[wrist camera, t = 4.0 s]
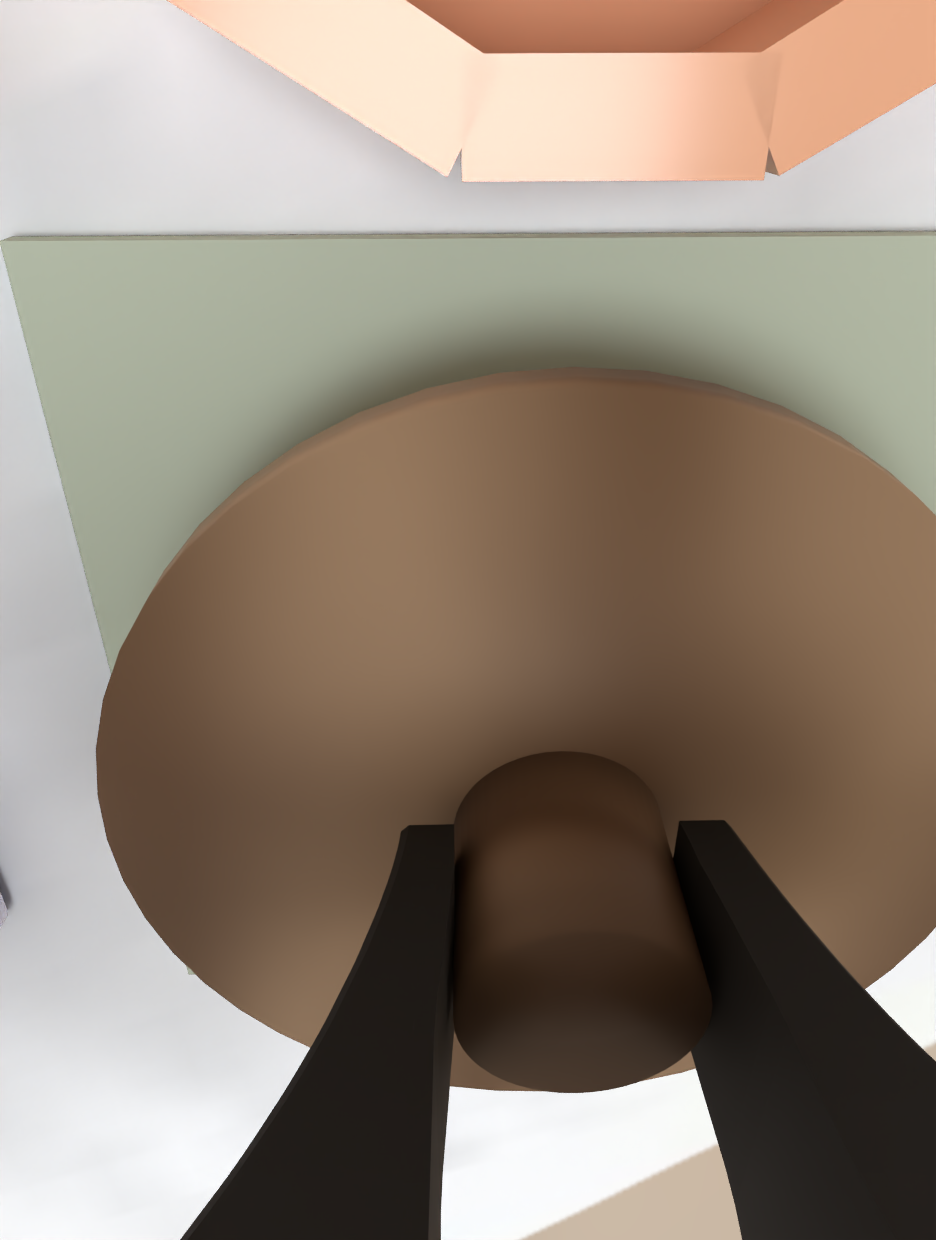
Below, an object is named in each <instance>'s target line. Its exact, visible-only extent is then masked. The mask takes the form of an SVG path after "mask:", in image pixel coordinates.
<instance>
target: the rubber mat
mask: <svg viewBox="0 0 936 1240" xmlns="http://www.w3.org/2000/svg"><path fill="white" fill-rule="evenodd" d="M0 245H1V249H2V253H3V257H4V261H5V264H6V268H7V272H8V276H9V280H10V284H11V288H12V292H13V295H14V299H15V303H16V307H17V311H18V315H19V319H20V323H21V326H22V330H23V334H24V338H25V342H26V346H27V350H28V354H29V357H30V361H31V365H32V369H33V373H34V377H35V381H36V385H37V388H38V392H39V396H40V400H41V404H42V408H43V412H44V416H45V420H46V423H47V427H48V431H49V435H50V439H51V443H52V447H53V451H54V454H55V458H56V462H57V466H58V470H59V474H60V478H61V482H62V485H63V489H64V493H65V497H66V501H67V505H68V509H69V513H70V516H71V520H72V524H73V528H74V532H75V536H76V540H77V544H78V547H79V551H80V555H81V559H82V563H83V567H84V571H85V575H86V578H87V582H88V586H89V590H90V594H91V598H92V602H93V606H94V609H95V613H96V617H97V621H98V625H99V629H100V633H101V637H102V640H103V644H104V648H105V652H106V656H107V660H108V664H109V668H110V671H111V674H112V671H113V668H114V665H115V662H116V659H117V656H118V653H119V650H120V648H121V647H122V645H123V643H124V641H125V639H126V637H127V635H128V633H129V632H130V630H131V628H132V626H133V624H134V622H135V620H136V619H137V617H138V615H139V613H140V611H141V609H142V607H143V606H144V604H145V602H146V600H147V598H148V597H149V595H150V593H151V592H152V590H153V588H154V587H155V585H156V583H157V581H158V580H159V578H160V576H161V575H162V573H163V571H164V570H165V568H166V567H167V566H168V564H169V563H170V562H171V561H172V559H173V558H174V557H175V555H176V554H177V553H178V551H179V550H180V549H181V548H182V546H183V545H184V544H185V542H186V541H187V540H188V538H189V537H190V536H191V535H192V533H193V532H194V531H195V529H196V528H197V527H198V525H199V524H200V523H201V522H202V521H203V520H204V519H205V518H207V517H208V516H209V515H210V514H211V513H212V512H213V511H214V510H215V509H216V508H217V507H218V506H219V505H220V504H221V503H222V502H223V501H224V500H225V499H226V498H228V497H229V496H230V495H231V494H232V493H233V492H234V491H235V490H236V489H237V488H238V487H239V486H240V485H241V484H242V483H243V482H244V481H246V480H247V479H249V478H250V477H252V476H253V475H254V474H256V473H257V472H259V471H260V470H261V469H263V468H264V467H266V466H267V465H269V464H270V463H271V462H273V461H274V460H276V459H277V458H278V457H280V456H281V455H283V454H284V453H286V452H287V451H288V450H290V449H291V448H293V447H294V446H295V445H297V444H298V443H300V442H302V441H304V440H306V439H308V438H310V437H312V436H314V435H316V434H318V433H320V432H322V431H324V430H326V429H328V428H330V427H331V426H333V425H335V424H337V423H339V422H341V421H343V420H345V419H347V418H349V417H351V416H353V415H355V414H357V413H359V412H361V411H364V410H367V409H370V408H373V407H375V406H378V405H381V404H384V403H387V402H389V401H392V400H395V399H398V398H401V397H403V396H406V395H409V394H412V393H415V392H418V391H420V390H423V389H426V388H430V387H435V386H439V385H444V384H449V383H454V382H458V381H463V380H468V379H472V378H477V377H482V376H486V375H491V374H496V373H503V372H515V371H528V370H540V369H553V368H565V367H586V368H605V369H625V370H644V371H651V372H657V373H662V374H667V375H673V376H678V377H683V378H689V379H694V380H699V381H704V382H710V383H715V384H719V385H722V386H725V387H728V388H731V389H734V390H737V391H740V392H743V393H746V394H748V395H751V396H754V397H757V398H760V399H763V400H766V401H769V402H772V403H775V404H778V405H781V406H783V407H785V408H787V409H789V410H791V411H793V412H795V413H797V414H799V415H801V416H803V417H805V418H807V419H809V420H811V421H813V422H815V423H816V424H818V425H820V426H822V427H824V428H826V429H828V430H830V431H832V432H834V433H836V434H838V435H840V436H841V437H843V438H844V439H845V440H847V441H848V442H850V443H851V444H852V445H854V446H855V447H856V448H858V449H859V450H860V451H862V452H863V453H865V454H866V455H867V456H869V457H870V458H871V459H873V460H874V461H876V462H877V463H878V464H880V465H881V466H882V467H884V468H885V469H886V470H888V471H889V472H890V473H891V474H893V475H894V476H895V477H896V478H897V479H898V480H899V481H900V482H901V483H903V484H904V485H905V486H906V487H907V488H908V489H909V490H910V491H912V492H913V493H914V494H915V495H916V496H917V497H918V498H919V499H920V500H921V501H922V502H923V503H924V504H925V505H926V506H927V507H928V508H929V509H930V510H931V511H932V512H933V513H934V514H935V515H936V231H885V232H713V233H541V234H369V235H197V236H26V237H10V238H7V239H4V240H1V241H0ZM187 970H188V974H189V975H192V974H195V973H194V972H193V971H192V970H191V969H189V968H188V967H187Z"/></svg>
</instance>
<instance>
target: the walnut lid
mask: <svg viewBox="0 0 936 1240" xmlns="http://www.w3.org/2000/svg"><path fill="white" fill-rule="evenodd" d="M96 762H97V789H98V799H99V804H100V808H101V813H102V818H103V822H104V827H105V832H106V836H107V840H108V843H109V845H110V848H111V851H112V853H113V856H114V858H115V861H116V863H117V866H118V868H119V871H120V873H121V876H122V878H123V881H124V883H125V884H126V886H127V888H128V889H129V891H130V893H131V894H132V896H133V898H134V899H135V901H136V903H137V905H138V906H139V908H140V910H141V911H142V913H143V915H144V916H145V918H146V920H147V921H148V922H149V923H150V925H151V926H152V927H153V928H154V930H155V931H156V932H157V933H158V935H159V936H160V937H161V938H162V940H163V941H164V942H165V943H166V945H167V946H168V947H169V948H170V950H171V951H172V952H173V953H174V954H175V955H176V956H177V957H178V958H179V959H180V960H181V961H182V962H183V963H184V964H185V965H186V966H187V967H188V968H189V969H191V970H192V971H193V972H194V973H195V974H196V975H197V976H198V977H199V978H200V979H201V980H202V981H203V982H204V983H205V984H207V985H208V986H209V987H211V988H212V989H213V990H215V991H216V992H217V993H218V994H220V995H221V996H222V997H224V998H225V999H226V1000H228V1001H229V1002H230V1003H232V1004H233V1005H234V1006H236V1007H237V1008H238V1009H240V1010H241V1011H243V1012H245V1013H246V1014H248V1015H250V1016H251V1017H253V1018H255V1019H256V1020H258V1021H260V1022H261V1023H263V1024H265V1025H266V1026H268V1027H270V1028H272V1029H273V1030H275V1031H277V1032H278V1033H280V1034H283V1035H285V1036H287V1037H289V1038H291V1039H293V1040H295V1041H298V1042H300V1043H302V1044H304V1045H306V1046H308V1047H310V1048H311V1046H312V1044H313V1042H314V1041H315V1039H316V1037H317V1035H318V1033H319V1032H320V1030H321V1028H322V1026H323V1024H324V1022H325V1021H326V1019H327V1017H328V1015H329V1013H330V1011H331V1009H332V1007H333V1005H334V1003H335V1001H336V999H337V997H338V995H339V993H340V991H341V989H342V987H343V985H344V983H345V981H346V979H347V977H348V975H349V973H350V971H351V969H352V967H353V965H354V963H355V961H356V958H357V956H358V954H359V952H360V949H361V947H362V945H363V942H364V940H365V938H366V935H367V933H368V931H369V928H370V926H371V923H372V921H373V919H374V916H375V914H376V912H377V909H378V907H379V904H380V901H381V898H382V896H383V893H384V890H385V888H386V885H387V882H388V879H389V876H390V873H391V870H392V867H393V863H394V860H395V856H396V852H397V848H398V844H399V839H400V833H401V831H402V830H403V829H405V828H406V827H407V826H408V825H439V824H454V849H455V934H454V955H453V1023H454V1039H453V1052H452V1064H451V1076H450V1086H454V1087H465V1088H475V1089H486V1090H498V1091H548V1092H558V1093H584V1092H596V1091H603V1090H609V1089H614V1088H619V1087H623V1086H627V1085H630V1084H633V1083H637V1082H639V1081H644V1080H649V1079H653V1078H658V1077H663V1076H668V1075H672V1074H677V1073H682V1072H685V1071H688V1070H692V1069H695V1068H696V1067H695V1063H694V1060H693V1057H692V1053H691V1050H692V1049H693V1048H694V1047H695V1046H696V1045H697V1043H698V1042H699V1041H700V1039H701V1038H702V1037H703V1035H704V1033H705V1031H706V1029H707V1027H708V1025H709V1022H710V1018H711V1014H712V996H711V992H710V988H709V985H708V981H707V977H706V974H705V970H704V967H703V963H702V960H701V956H700V953H699V949H698V946H697V942H696V938H695V935H694V931H693V928H692V924H691V921H690V917H689V914H688V910H687V906H686V903H685V899H684V896H683V892H682V889H681V885H680V882H679V878H678V875H677V871H676V867H675V864H674V860H673V856H674V849H675V843H676V837H677V831H678V825H679V821H691V820H725V821H726V822H727V823H728V824H729V825H730V826H731V827H732V829H733V830H734V831H735V833H736V834H737V835H738V837H739V838H740V839H741V841H742V842H743V843H744V845H745V846H746V847H747V849H748V850H749V851H750V853H751V854H752V855H753V857H754V858H755V859H756V861H757V862H758V863H759V864H760V866H761V867H762V868H763V870H764V871H765V872H766V873H767V875H768V876H769V877H770V879H771V880H772V881H773V882H774V884H775V885H776V886H777V887H778V889H779V890H780V891H781V893H782V894H783V895H784V896H785V898H786V899H787V900H788V901H789V903H790V904H791V905H792V906H793V907H794V909H795V910H796V911H797V912H798V914H799V915H800V916H801V917H802V918H803V920H804V921H805V922H806V923H807V924H808V926H809V927H810V928H811V929H812V930H813V931H814V933H815V934H816V935H817V936H818V937H819V938H820V940H821V941H822V942H823V943H824V944H825V945H826V947H827V948H828V949H829V950H830V951H831V952H832V954H833V955H834V956H835V957H836V958H837V959H838V961H839V962H840V963H841V964H842V965H843V966H844V967H845V968H846V969H847V971H848V972H849V973H850V974H851V975H852V976H853V977H854V978H855V980H856V981H857V982H858V983H859V984H860V985H861V986H862V987H863V988H864V989H866V988H867V987H868V986H870V985H871V984H872V983H874V982H875V981H877V980H878V979H879V978H881V977H882V976H883V975H885V974H886V973H887V972H889V971H890V970H891V969H893V968H894V967H895V966H896V965H897V964H898V963H899V962H900V961H901V960H902V959H904V958H905V957H906V956H907V955H908V954H909V953H910V952H911V951H912V950H914V949H915V948H916V947H917V946H918V945H919V944H920V943H921V942H922V941H923V940H925V939H926V938H927V936H928V935H929V934H930V933H931V932H932V931H933V930H934V928H935V927H936V515H935V514H934V513H933V512H932V511H931V510H930V509H929V508H928V507H927V506H926V505H925V504H924V503H923V502H922V501H921V500H920V499H919V498H918V497H917V496H916V495H915V494H914V493H913V492H912V491H910V490H909V489H908V488H907V487H906V486H905V485H904V484H903V483H901V482H900V481H899V480H898V479H897V478H896V477H895V476H894V475H893V474H891V473H890V472H889V471H888V470H886V469H885V468H884V467H882V466H881V465H880V464H878V463H877V462H876V461H874V460H873V459H871V458H870V457H869V456H867V455H866V454H865V453H863V452H862V451H860V450H859V449H858V448H856V447H855V446H854V445H852V444H851V443H850V442H848V441H847V440H845V439H844V438H843V437H841V436H840V435H838V434H836V433H834V432H832V431H830V430H828V429H826V428H824V427H822V426H820V425H818V424H816V423H815V422H813V421H811V420H809V419H807V418H805V417H803V416H801V415H799V414H797V413H795V412H793V411H791V410H789V409H787V408H785V407H783V406H781V405H778V404H775V403H772V402H769V401H766V400H763V399H760V398H757V397H754V396H751V395H748V394H746V393H743V392H740V391H737V390H734V389H731V388H728V387H725V386H722V385H719V384H715V383H710V382H704V381H699V380H694V379H689V378H683V377H678V376H673V375H667V374H662V373H657V372H651V371H644V370H625V369H605V368H586V367H565V368H553V369H540V370H528V371H515V372H503V373H496V374H491V375H486V376H482V377H477V378H472V379H468V380H463V381H458V382H454V383H449V384H444V385H439V386H435V387H430V388H426V389H423V390H420V391H418V392H415V393H412V394H409V395H406V396H403V397H401V398H398V399H395V400H392V401H389V402H387V403H384V404H381V405H378V406H375V407H373V408H370V409H367V410H364V411H361V412H359V413H357V414H355V415H353V416H351V417H349V418H347V419H345V420H343V421H341V422H339V423H337V424H335V425H333V426H331V427H330V428H328V429H326V430H324V431H322V432H320V433H318V434H316V435H314V436H312V437H310V438H308V439H306V440H304V441H302V442H300V443H298V444H297V445H295V446H294V447H293V448H291V449H290V450H288V451H287V452H286V453H284V454H283V455H281V456H280V457H278V458H277V459H276V460H274V461H273V462H271V463H270V464H269V465H267V466H266V467H264V468H263V469H261V470H260V471H259V472H257V473H256V474H254V475H253V476H252V477H250V478H249V479H247V480H246V481H244V482H243V483H242V484H241V485H240V486H239V487H238V488H237V489H236V490H235V491H234V492H233V493H232V494H231V495H230V496H229V497H228V498H226V499H225V500H224V501H223V502H222V503H221V504H220V505H219V506H218V507H217V508H216V509H215V510H214V511H213V512H212V513H211V514H210V515H209V516H208V517H207V518H205V519H204V520H203V521H202V522H201V523H200V524H199V525H198V527H197V528H196V529H195V531H194V532H193V533H192V535H191V536H190V537H189V538H188V540H187V541H186V542H185V544H184V545H183V546H182V548H181V549H180V550H179V551H178V553H177V554H176V555H175V557H174V558H173V559H172V561H171V562H170V563H169V564H168V566H167V567H166V568H165V570H164V571H163V573H162V575H161V576H160V578H159V580H158V581H157V583H156V585H155V587H154V588H153V590H152V592H151V593H150V595H149V597H148V598H147V600H146V602H145V604H144V606H143V607H142V609H141V611H140V613H139V615H138V617H137V619H136V620H135V622H134V624H133V626H132V628H131V630H130V632H129V633H128V635H127V637H126V639H125V641H124V643H123V645H122V647H121V648H120V650H119V653H118V656H117V659H116V662H115V665H114V668H113V671H112V674H111V677H110V680H109V683H108V686H107V689H106V692H105V695H104V698H103V703H102V710H101V717H100V724H99V731H98V738H97V745H96Z"/></svg>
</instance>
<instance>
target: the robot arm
mask: <svg viewBox="0 0 936 1240" xmlns="http://www.w3.org/2000/svg"><path fill="white" fill-rule="evenodd" d="M673 860H674V864H675V867H676V871H677V875H678V878H679V882H680V885H681V889H682V892H683V896H684V899H685V903H686V906H687V910H688V914H689V917H690V921H691V924H692V928H693V931H694V935H695V938H696V942H697V946H698V949H699V953H700V956H701V960H702V963H703V967H704V970H705V974H706V977H707V981H708V985H709V988H710V992H711V996H712V1014H711V1018H710V1022H709V1025H708V1027H707V1029H706V1031H705V1033H704V1035H703V1037H702V1038H701V1039H700V1041H699V1042H698V1043H697V1045H696V1046H695V1047H694V1048H693V1049H692V1050H691V1053H692V1057H693V1060H694V1063H695V1067H696V1070H697V1074H698V1077H699V1080H700V1084H701V1087H702V1090H703V1094H704V1097H705V1100H706V1104H707V1107H708V1110H709V1114H710V1117H711V1121H712V1124H713V1127H714V1131H715V1134H716V1137H717V1141H718V1144H719V1147H720V1151H721V1154H722V1157H723V1161H724V1164H725V1168H726V1171H727V1175H728V1179H729V1183H730V1187H731V1191H732V1195H733V1199H734V1203H735V1207H736V1211H737V1216H738V1221H739V1226H740V1230H741V1235H742V1240H936V1061H935V1060H934V1059H933V1058H932V1057H930V1056H929V1055H928V1054H927V1053H926V1052H925V1051H924V1050H923V1049H922V1048H921V1047H920V1046H919V1045H918V1044H917V1043H916V1042H915V1041H914V1040H913V1039H912V1038H911V1037H910V1036H909V1035H908V1034H907V1033H906V1032H905V1031H904V1030H903V1029H902V1028H901V1027H900V1026H899V1025H898V1024H897V1023H896V1022H895V1021H894V1020H893V1019H892V1018H891V1017H890V1016H889V1015H888V1014H887V1013H886V1012H885V1010H884V1009H883V1008H882V1007H881V1006H880V1005H879V1004H878V1003H877V1002H876V1001H875V1000H874V999H873V998H872V997H871V996H870V995H869V993H868V992H867V991H866V990H865V989H864V988H863V987H862V986H861V985H860V984H859V983H858V982H857V981H856V980H855V978H854V977H853V976H852V975H851V974H850V973H849V972H848V971H847V969H846V968H845V967H844V966H843V965H842V964H841V963H840V962H839V961H838V959H837V958H836V957H835V956H834V955H833V954H832V952H831V951H830V950H829V949H828V948H827V947H826V945H825V944H824V943H823V942H822V941H821V940H820V938H819V937H818V936H817V935H816V934H815V933H814V931H813V930H812V929H811V928H810V927H809V926H808V924H807V923H806V922H805V921H804V920H803V918H802V917H801V916H800V915H799V914H798V912H797V911H796V910H795V909H794V907H793V906H792V905H791V904H790V903H789V901H788V900H787V899H786V898H785V896H784V895H783V894H782V893H781V891H780V890H779V889H778V887H777V886H776V885H775V884H774V882H773V881H772V880H771V879H770V877H769V876H768V875H767V873H766V872H765V871H764V870H763V868H762V867H761V866H760V864H759V863H758V862H757V861H756V859H755V858H754V857H753V855H752V854H751V853H750V851H749V850H748V849H747V847H746V846H745V845H744V843H743V842H742V841H741V839H740V838H739V837H738V835H737V834H736V833H735V831H734V830H733V829H732V827H731V826H730V825H729V824H728V823H727V822H726V821H725V820H691V821H679V825H678V831H677V837H676V843H675V849H674V856H673ZM7 915H8V914H7V908H6V905H5V903H4V900H3V898H2V895H1V893H0V928H1V927H2V925H3V923H4V921H5V919H6V917H7ZM454 934H455V849H454V824H439V825H408V826H407V827H406V828H405V829H403V830H402V831H401V833H400V839H399V844H398V848H397V852H396V856H395V860H394V863H393V867H392V870H391V873H390V876H389V879H388V882H387V885H386V888H385V890H384V893H383V896H382V898H381V901H380V904H379V907H378V909H377V912H376V914H375V916H374V919H373V921H372V923H371V926H370V928H369V931H368V933H367V935H366V938H365V940H364V942H363V945H362V947H361V949H360V952H359V954H358V956H357V958H356V961H355V963H354V965H353V967H352V969H351V971H350V973H349V975H348V977H347V979H346V981H345V983H344V985H343V987H342V989H341V991H340V993H339V995H338V997H337V999H336V1001H335V1003H334V1005H333V1007H332V1009H331V1011H330V1013H329V1015H328V1017H327V1019H326V1021H325V1022H324V1024H323V1026H322V1028H321V1030H320V1032H319V1033H318V1035H317V1037H316V1039H315V1041H314V1042H313V1044H312V1046H311V1048H310V1050H309V1051H308V1053H307V1055H306V1056H305V1058H304V1060H303V1062H302V1063H301V1065H300V1067H299V1068H298V1070H297V1072H296V1073H295V1075H294V1077H293V1078H292V1080H291V1082H290V1083H289V1085H288V1087H287V1088H286V1090H285V1092H284V1093H283V1095H282V1096H281V1098H280V1099H279V1101H278V1103H277V1104H276V1106H275V1107H274V1109H273V1110H272V1112H271V1113H270V1115H269V1116H268V1118H267V1119H266V1121H265V1122H264V1124H263V1125H262V1127H261V1129H260V1130H259V1132H258V1133H257V1135H256V1136H255V1138H254V1139H253V1141H252V1142H251V1144H250V1145H249V1147H248V1148H247V1150H246V1151H245V1153H244V1154H243V1155H242V1157H241V1158H240V1160H239V1161H238V1163H237V1164H236V1166H235V1167H234V1168H233V1170H232V1171H231V1173H230V1174H229V1175H228V1177H227V1178H226V1180H225V1181H224V1182H223V1184H222V1185H221V1186H220V1188H219V1189H218V1190H217V1192H216V1193H215V1194H214V1196H213V1197H212V1198H211V1200H210V1201H209V1202H208V1204H207V1205H206V1206H205V1208H204V1209H203V1210H202V1212H201V1213H200V1214H199V1216H198V1217H197V1218H196V1220H195V1221H194V1222H193V1224H192V1225H191V1226H190V1228H189V1229H188V1230H187V1232H186V1233H185V1234H184V1235H183V1237H182V1238H181V1239H180V1240H441V1196H442V1175H443V1162H444V1150H445V1137H446V1125H447V1113H448V1101H449V1088H450V1076H451V1064H452V1052H453V1039H454V1023H453V955H454Z"/></svg>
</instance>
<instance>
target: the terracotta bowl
mask: <svg viewBox="0 0 936 1240" xmlns="http://www.w3.org/2000/svg"><path fill="white" fill-rule="evenodd" d="M167 1H169V2H170V3H172V4H173V5H175V6H177V7H178V8H180V9H181V10H183V11H184V12H186V13H188V14H189V15H191V16H192V17H194V18H196V19H197V20H199V21H200V22H202V23H203V24H205V25H207V26H208V27H210V28H211V29H213V30H215V31H216V32H218V33H219V34H221V35H222V36H224V37H226V38H227V39H229V40H230V41H232V42H234V43H235V44H237V45H238V46H240V47H241V48H243V49H245V50H246V51H248V52H249V53H251V54H253V55H254V56H256V57H257V58H259V59H260V60H262V61H264V62H265V63H267V64H268V65H270V66H272V67H273V68H275V69H276V70H278V71H279V72H281V73H283V74H284V75H286V76H287V77H289V78H291V79H292V80H294V81H295V82H297V83H298V84H300V85H302V86H303V87H305V88H306V89H308V90H310V91H311V92H313V93H314V94H316V95H317V96H319V97H321V98H322V99H324V100H325V101H327V102H329V103H330V104H332V105H333V106H335V107H336V108H338V109H340V110H341V111H343V112H344V113H346V114H348V115H349V116H351V117H352V118H354V119H355V120H357V121H359V122H360V123H362V124H363V125H365V126H367V127H368V128H370V129H371V130H373V131H374V132H376V133H378V134H379V135H381V136H382V137H384V138H386V139H387V140H389V141H390V142H392V143H393V144H395V145H397V146H398V147H400V148H401V149H403V150H405V151H406V152H408V153H409V154H411V155H412V156H414V157H416V158H417V159H419V160H420V161H422V162H424V163H425V164H427V165H428V166H430V167H431V168H433V169H435V170H436V171H438V172H439V173H441V174H443V175H444V176H446V177H448V175H449V173H450V171H451V169H452V167H453V165H454V163H455V161H456V159H457V157H458V155H459V153H460V161H461V174H462V182H513V181H703V180H764V175H765V172H769V173H772V174H775V175H781V174H783V173H785V172H786V171H788V170H790V169H791V168H793V167H795V166H796V165H798V164H800V163H802V162H803V161H805V160H807V159H808V158H810V157H812V156H813V155H815V154H817V153H818V152H820V151H822V150H824V149H825V148H827V147H829V146H830V145H832V144H834V143H835V142H837V141H839V140H841V139H842V138H844V137H846V136H847V135H849V134H851V133H852V132H854V131H856V130H858V129H859V128H861V127H863V126H864V125H866V124H868V123H869V122H871V121H873V120H874V119H876V118H878V117H880V116H881V115H883V114H885V113H886V112H888V111H890V110H891V109H893V108H895V107H897V106H898V105H900V104H902V103H903V102H905V101H907V100H908V99H910V98H912V97H913V96H915V95H917V94H919V93H920V92H922V91H924V90H925V89H927V88H929V87H930V86H932V85H934V84H936V0H167Z"/></svg>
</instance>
